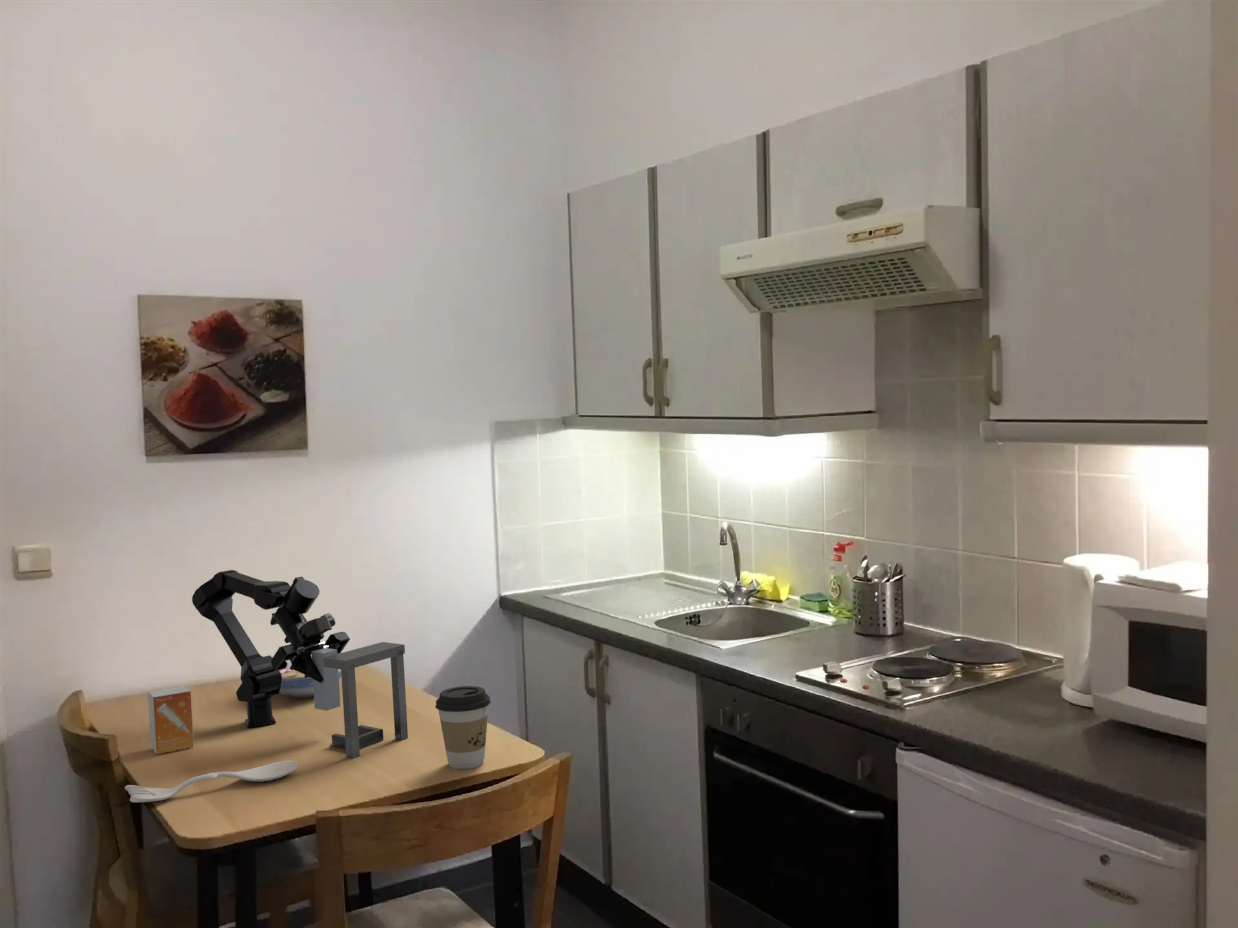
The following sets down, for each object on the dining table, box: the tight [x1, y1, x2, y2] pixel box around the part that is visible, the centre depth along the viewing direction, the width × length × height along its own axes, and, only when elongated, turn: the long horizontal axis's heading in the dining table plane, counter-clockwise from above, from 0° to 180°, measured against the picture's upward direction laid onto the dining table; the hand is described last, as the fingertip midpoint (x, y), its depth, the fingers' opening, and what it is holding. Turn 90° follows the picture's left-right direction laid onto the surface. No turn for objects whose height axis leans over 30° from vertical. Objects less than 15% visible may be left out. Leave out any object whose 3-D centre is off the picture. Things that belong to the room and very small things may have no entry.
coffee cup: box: [435, 685, 492, 770], centre depth 225 cm, size 11×11×15 cm
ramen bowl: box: [279, 660, 342, 699], centre depth 289 cm, size 25×23×8 cm
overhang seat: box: [323, 641, 409, 759], centre depth 242 cm, size 12×17×21 cm
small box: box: [147, 685, 195, 755], centre depth 245 cm, size 8×6×13 cm
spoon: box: [124, 759, 299, 803], centre depth 217 cm, size 9×32×4 cm, turn 120°
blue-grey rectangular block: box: [311, 648, 341, 712], centre depth 248 cm, size 4×4×13 cm
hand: (329, 679), depth 247 cm, fingers closed on blue-grey rectangular block, 4 cm apart
